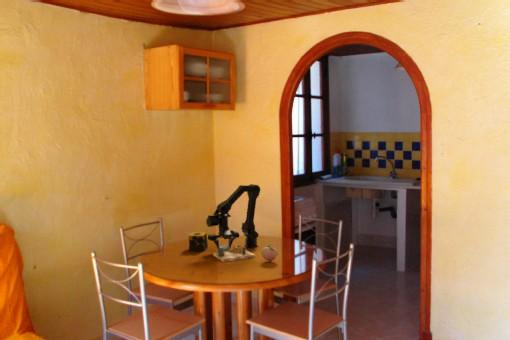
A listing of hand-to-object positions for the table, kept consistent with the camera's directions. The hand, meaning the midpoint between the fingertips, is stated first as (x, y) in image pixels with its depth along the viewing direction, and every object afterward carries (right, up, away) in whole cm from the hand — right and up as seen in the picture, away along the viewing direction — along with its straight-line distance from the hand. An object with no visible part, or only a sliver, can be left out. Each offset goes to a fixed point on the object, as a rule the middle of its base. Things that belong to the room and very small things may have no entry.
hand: (224, 249), depth 301 cm
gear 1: (0, -1, 0) cm, 1 cm away
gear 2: (+10, 0, -7) cm, 12 cm away
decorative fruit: (+27, -3, -25) cm, 37 cm away
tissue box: (-16, -1, +7) cm, 18 cm away
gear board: (+7, -2, -12) cm, 14 cm away
